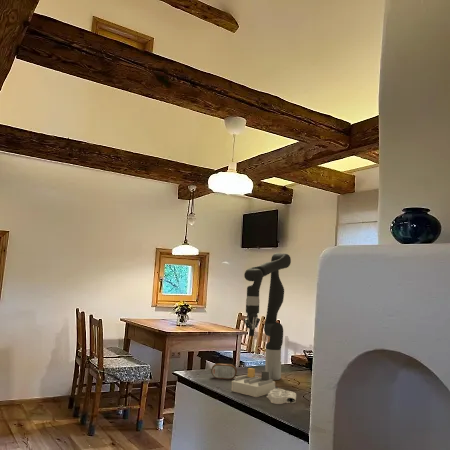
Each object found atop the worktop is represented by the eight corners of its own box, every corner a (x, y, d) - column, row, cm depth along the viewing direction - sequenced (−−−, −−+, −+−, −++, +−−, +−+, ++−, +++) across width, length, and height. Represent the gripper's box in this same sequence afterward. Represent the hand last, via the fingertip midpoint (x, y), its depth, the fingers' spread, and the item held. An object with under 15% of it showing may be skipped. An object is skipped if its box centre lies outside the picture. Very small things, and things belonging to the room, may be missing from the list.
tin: (236, 378, 262) (237, 364, 263) (236, 380, 259) (236, 365, 260) (211, 377, 264) (211, 362, 265) (210, 378, 261) (211, 363, 262)
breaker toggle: (249, 377, 244) (249, 367, 245) (256, 378, 241) (256, 368, 242) (246, 377, 242) (246, 368, 242) (252, 379, 239) (253, 369, 239)
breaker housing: (250, 385, 246) (250, 373, 247) (274, 391, 236) (275, 378, 237) (231, 391, 233) (231, 378, 234) (256, 397, 223) (257, 383, 224)
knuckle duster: (295, 406, 211) (264, 403, 214) (296, 396, 229) (267, 394, 232) (295, 399, 212) (264, 396, 215) (296, 390, 229) (268, 387, 232)
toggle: (263, 380, 238) (263, 370, 239) (270, 381, 236) (270, 371, 236) (259, 380, 236) (260, 371, 237) (266, 382, 233) (267, 372, 234)
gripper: (254, 303, 259) (252, 334, 257) (240, 304, 249) (239, 336, 247) (264, 304, 254) (263, 335, 252) (251, 305, 244) (250, 337, 242)
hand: (251, 335), depth 249 cm, fingers closed
